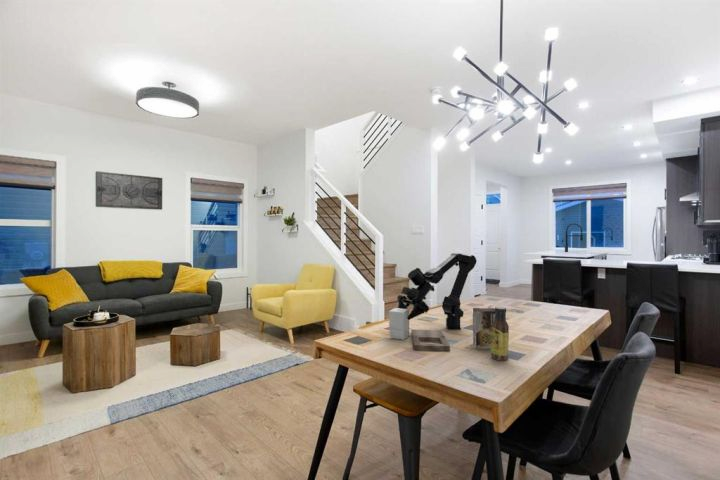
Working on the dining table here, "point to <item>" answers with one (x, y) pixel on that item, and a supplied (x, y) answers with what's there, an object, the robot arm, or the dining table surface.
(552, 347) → the dining table surface
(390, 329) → the supplement box
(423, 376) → the dining table surface
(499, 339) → the sauce bottle
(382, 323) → the dining table surface
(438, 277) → the robot arm
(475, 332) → the coffee box
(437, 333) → the cutout board
